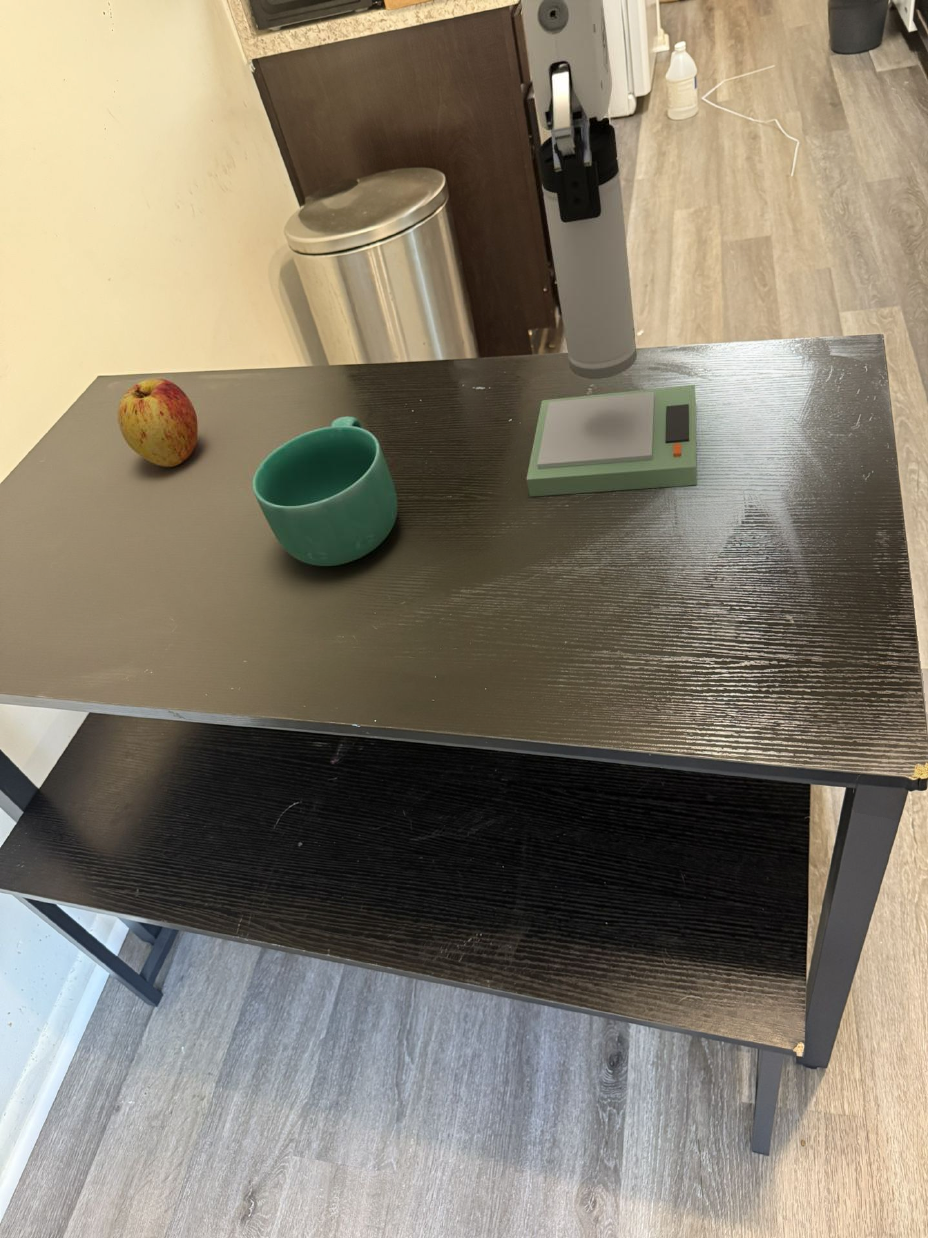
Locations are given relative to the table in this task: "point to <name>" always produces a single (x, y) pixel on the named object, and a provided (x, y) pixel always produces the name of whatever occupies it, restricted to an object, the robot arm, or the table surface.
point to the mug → (328, 494)
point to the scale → (615, 442)
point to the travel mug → (593, 266)
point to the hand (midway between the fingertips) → (584, 198)
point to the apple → (158, 422)
